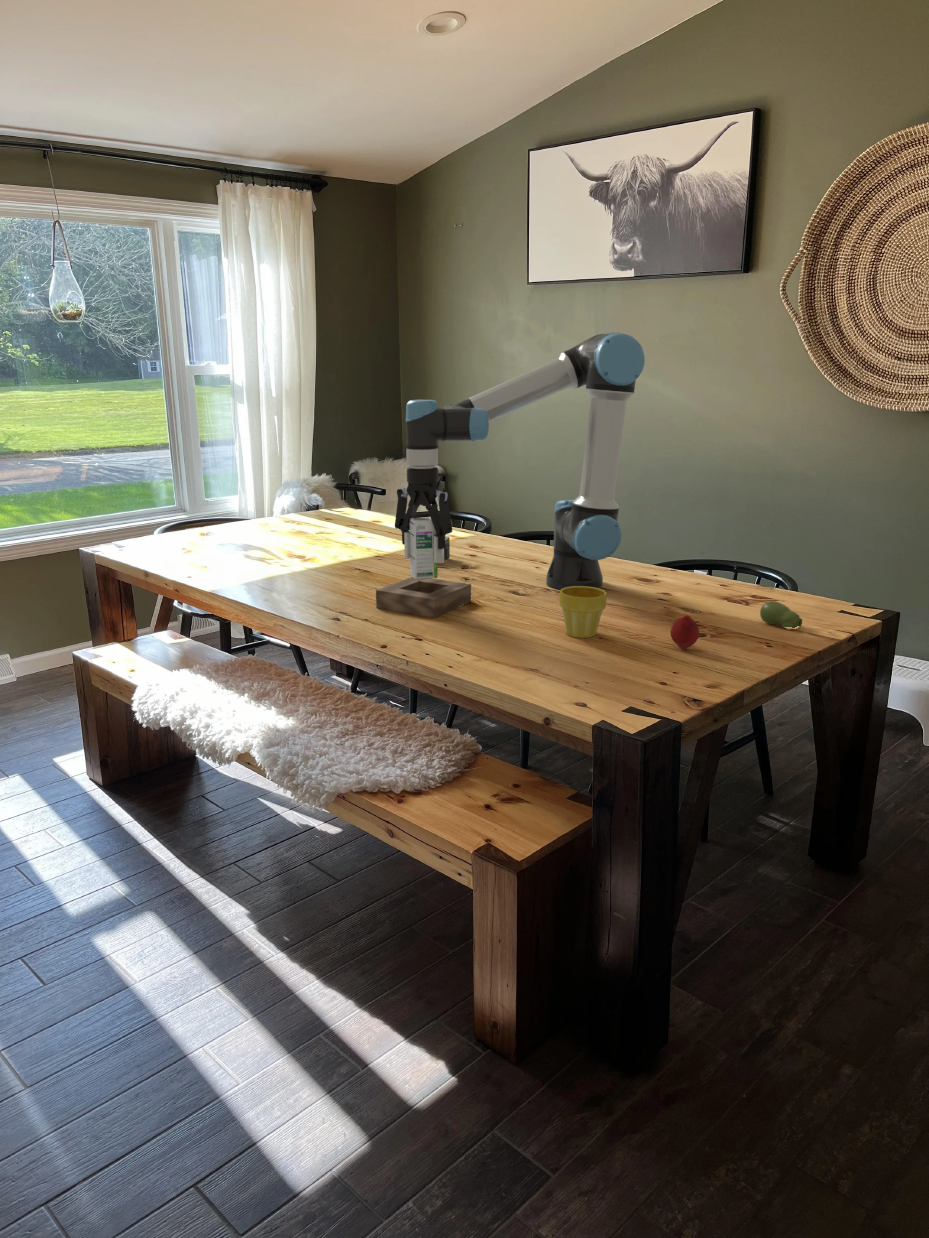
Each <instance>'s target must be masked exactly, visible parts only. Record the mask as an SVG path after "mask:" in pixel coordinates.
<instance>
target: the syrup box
mask: <svg viewBox="0 0 929 1238" xmlns="http://www.w3.org/2000/svg"><path fill="white" fill-rule="evenodd" d="M409 527H410V530H409V531H410V558H409V561H410V576H411V577H414V578H415V579H428V578H432V579H438V578H439V577H438V575H439V573H438V572H439V571H438V568H439V567H438V563H434V536H435V535H437V534H436V531H435V528H434V526H433V523H432V520H431V517H430V516H427V517H423V516H422V517H414V518H411V519H410V523H409Z"/></svg>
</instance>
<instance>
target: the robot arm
mask: <svg viewBox="0 0 929 1238" xmlns="http://www.w3.org/2000/svg"><path fill="white" fill-rule="evenodd" d="M645 359H646V358H645V353H644V349H643V347H642V345H641V344H640V342H639V341H638V340H637V339H636V338H634V337H633V336H632V335H630V334H626V333H621V332H610V333H599V334H596V335H593V336H590V337H589V338H587V339H586V340H583V342H580V343H579V344H577V345H575V346H573V347H571V348H569V349H567V350H565V351H562V352H561V353H560V354H559V357H558V358H556V359H554V360H552V361H550V362H548V363H546V364H543V365H541V366H539V367H537V368H534V369H531V370H529V371H528V372H525V373H522V374H520V375H517V376H516V377H513V378H512V379H511V378H510V379H509V380H506V381H505V382H502V383H500V384H498V385H495V386H493V387H491V388H489V389H486V390H483V391H482V392H479V393H477V394H475V395H473V396H470V397H468V398H466V399H463V400H461V401H459V402H456V403H451V404H449V405H447V406H444V407H443V408H441V407H439V404H438V401H437V400H435V399H412V400H408V401H407V402H406V405H405V409H406V410H405V433H406V434H405V437H406V438H405V439H406V440H405V441H406V443H405V445H406V454H405V455H406V459H405V460H406V463H405V464H406V465H407V466H408V467H407V468H406V481H407V487H406V488H405V487H403V488H398V489H396V494H397V504H396V511H395V521H394V528H395V529H398V530H399V531H401V543H402V545H404V559H406V560H410V527H409V523H410V519H411V518H416V514H417V511H418V508H419V507H421V506H422V507H424V508H425V509H426V510H427V512H428V514H429V517H431V520H432V523H433V526H434V528H435V531H436V534H437V535H435V536H434V563H437V564H439V563H438V562H441V561H443V549H444V548H445V536H447V535H449V534H452V532H453V525H452V517H451V512H450V505H449V504H450V503H449V499H450V493H449V491H441V490H440V489H439V487H438V483H439V468H438V467H437V465H438V464H439V441H441V442H445V441H454V442H455V441H457V442H459V441H472V442H474V441H475V442H476V441H484V440H486V439H487V438H488V435H489V430H490V427H489V426H490V422H493V421H495V420H497V419H499V418H502V417H504V416H506V415H509V414H511V413H514V412H515V411H518V410H521V409H522V408H525V407H526V406H529V405H532V404H534V403H536V402H539V401H541V400H542V399H546V398H548V397H550V396H552V395H555V394H557V393H559V392H561V391H564V390H566V389H569V388H571V389H573V390H576V389H578V388H581V387H583V386H585V391H586V392H587V394H588V395H589V396H590V402H589V404H590V405H589V412H588V418H587V430H586V436H585V437H586V438H585V444H584V445H585V447H584V453H583V462H582V471H581V480H580V487H579V495H578V496H577V497H576V498H575V499H563V500H562V499H561V500H557V501H556V503H555V505H554V506H555V507H554V512H553V514H554V523H553V524H554V528H553V530H554V531H553V557H552V559H551V562H550V565H549V568H548V571H547V573H546V579H545V580H546V582H545V583H546V585H547V586H548V587H551V588H553V589H557V590H561V589H563V588H566V587H571V586H587V587H595V588H599V589H601V587H603V582H604V581H603V579H604V577H603V573H602V569H601V566H600V562H599V561H601V560H603V559H606V558H608V557H611V555H612V554H614V553H615V552H616V550H617V549H619V547H620V545H621V542H622V530H621V526H620V524H619V522H618V518H619V511H620V506H619V504H618V503H617V501H616V500H615V494H616V485H617V477H618V469H619V461H620V455H621V446H622V440H623V439H622V438H623V431H624V423H625V416H626V409H627V401H628V400H629V399H630V398H631V397H632V396H633V395H634V394H635V389H636V382H637V380H638V378H639V377H640V376H641V374H642V372H643V370H644V368H645V363H646V362H645V361H646V360H645ZM408 497H409V502H408ZM436 499H437V500H438V501H437V500H436ZM407 506H408V508H407Z"/></svg>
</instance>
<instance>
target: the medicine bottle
mask: <svg viewBox="0 0 929 1238" xmlns="http://www.w3.org/2000/svg"><path fill="white" fill-rule="evenodd" d="M450 540H451V539H450V536H449V535H445V548H444V549H443V561H441V562H438V563H437V564H442V563H444V564H446V563H447V562H448V560H450V557H451V556H450V555H451V554H450V553H451V552H450V549H451V548H450Z"/></svg>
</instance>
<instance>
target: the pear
mask: <svg viewBox="0 0 929 1238" xmlns="http://www.w3.org/2000/svg"><path fill="white" fill-rule="evenodd" d="M759 615H760V619H761V620H762V621H763V622H764V621H765V623H766V622H768V623H779V624H780V625H781V627H782V626H783V627H792V628H795V627H797V626H800V627H801V626H802V624H803V619H802V618H801V616H800V615H799V614H798V613H797V612H795V611H792V610H791V609H790V608H789V607H788V606H786V605H785V604H783V603H782V602H779V601H777V600H776V601H775V600H769V601H766V602H765V603H764V604H763V605H762V606H761V607H760V611H759ZM768 623H767V624H768ZM783 627H782V628H783Z"/></svg>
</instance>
